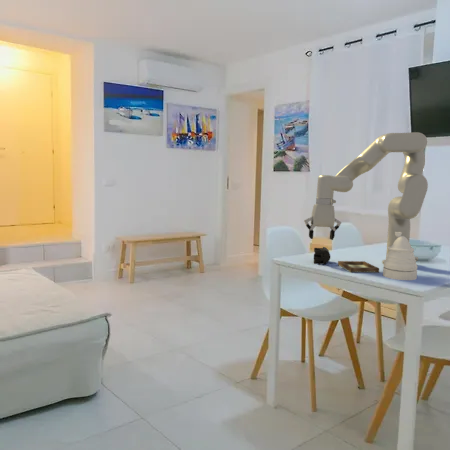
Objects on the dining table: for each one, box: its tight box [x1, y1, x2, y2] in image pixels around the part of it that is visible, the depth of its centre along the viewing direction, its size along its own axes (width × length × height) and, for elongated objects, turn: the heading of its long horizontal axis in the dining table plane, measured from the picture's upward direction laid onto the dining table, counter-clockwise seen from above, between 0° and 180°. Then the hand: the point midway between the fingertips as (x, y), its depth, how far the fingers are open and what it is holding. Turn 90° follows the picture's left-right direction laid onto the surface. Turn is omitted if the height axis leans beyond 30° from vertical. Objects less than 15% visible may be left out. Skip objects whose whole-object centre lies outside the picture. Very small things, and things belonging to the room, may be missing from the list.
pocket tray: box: [337, 260, 380, 273], centre depth 195 cm, size 12×15×2 cm
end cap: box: [313, 246, 331, 265], centre depth 207 cm, size 10×7×7 cm
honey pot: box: [382, 232, 418, 281], centre depth 180 cm, size 13×13×18 cm
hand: (321, 239), depth 206 cm, fingers open, 9 cm apart
